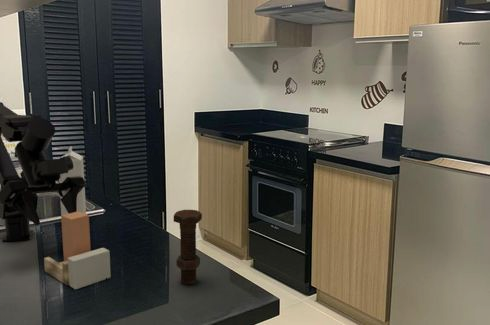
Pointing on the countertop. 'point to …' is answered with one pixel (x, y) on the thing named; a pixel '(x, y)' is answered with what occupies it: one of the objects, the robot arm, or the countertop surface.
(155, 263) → the countertop surface
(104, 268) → the stop block
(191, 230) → the bolt
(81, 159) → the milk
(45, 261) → the cradle
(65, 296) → the countertop surface
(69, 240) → the orange rectangular block
